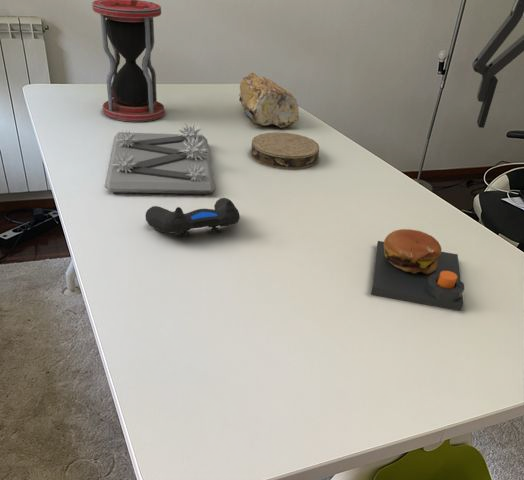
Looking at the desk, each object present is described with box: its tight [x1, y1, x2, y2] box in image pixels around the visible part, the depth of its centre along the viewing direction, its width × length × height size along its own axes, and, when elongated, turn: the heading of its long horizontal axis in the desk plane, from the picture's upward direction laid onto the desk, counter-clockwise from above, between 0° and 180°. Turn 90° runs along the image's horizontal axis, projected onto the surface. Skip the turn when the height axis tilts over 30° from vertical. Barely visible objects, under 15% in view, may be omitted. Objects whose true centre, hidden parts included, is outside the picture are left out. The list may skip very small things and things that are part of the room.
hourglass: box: [91, 0, 165, 123], centre depth 140 cm, size 16×16×25 cm
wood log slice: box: [250, 131, 320, 170], centre depth 130 cm, size 16×16×3 cm
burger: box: [383, 228, 442, 274], centre depth 91 cm, size 10×9×5 cm
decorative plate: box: [104, 122, 217, 195], centre depth 117 cm, size 30×22×7 cm
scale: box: [370, 240, 465, 311], centre depth 91 cm, size 14×16×3 cm
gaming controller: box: [144, 197, 241, 236], centre depth 97 cm, size 17×6×10 cm
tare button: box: [437, 271, 457, 289], centre depth 85 cm, size 3×3×2 cm
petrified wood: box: [238, 72, 300, 129], centre depth 150 cm, size 19×13×10 cm
